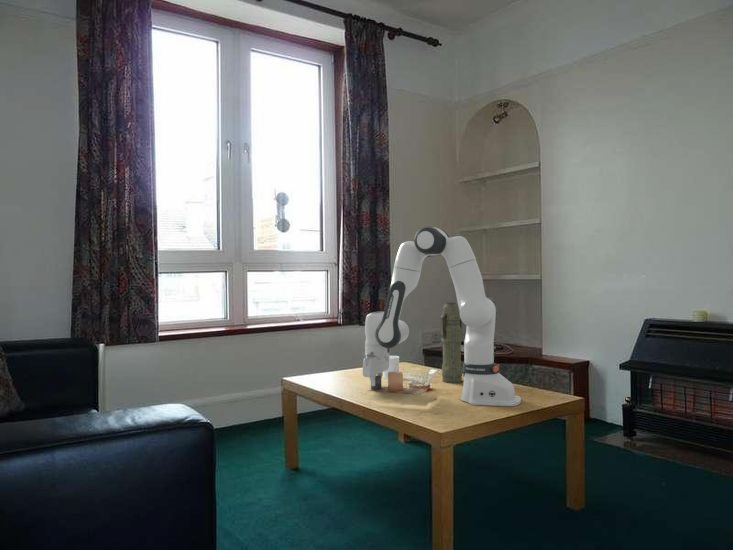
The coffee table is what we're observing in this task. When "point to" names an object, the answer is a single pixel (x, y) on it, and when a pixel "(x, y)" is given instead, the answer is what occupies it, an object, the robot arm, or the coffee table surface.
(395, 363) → the white cup
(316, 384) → the coffee table surface
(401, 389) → the terracotta upright block
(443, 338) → the thermos
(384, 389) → the walnut strip
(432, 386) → the coffee table surface
